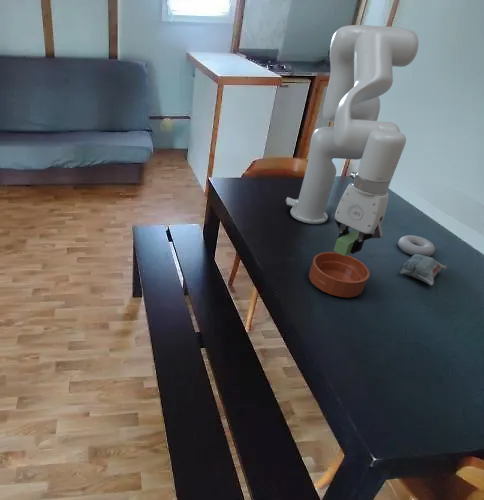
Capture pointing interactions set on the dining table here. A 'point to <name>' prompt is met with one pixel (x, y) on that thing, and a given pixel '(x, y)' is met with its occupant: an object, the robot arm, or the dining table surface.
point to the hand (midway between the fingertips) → (347, 248)
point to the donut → (416, 245)
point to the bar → (346, 243)
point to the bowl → (338, 274)
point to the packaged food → (422, 268)
